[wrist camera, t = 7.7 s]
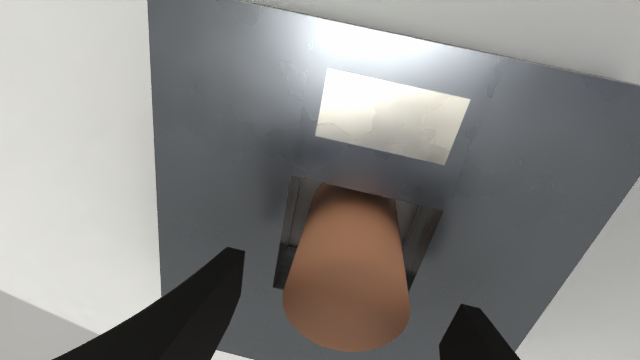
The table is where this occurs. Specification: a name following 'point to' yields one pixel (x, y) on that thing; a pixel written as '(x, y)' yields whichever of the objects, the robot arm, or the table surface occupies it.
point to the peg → (348, 272)
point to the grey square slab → (378, 163)
